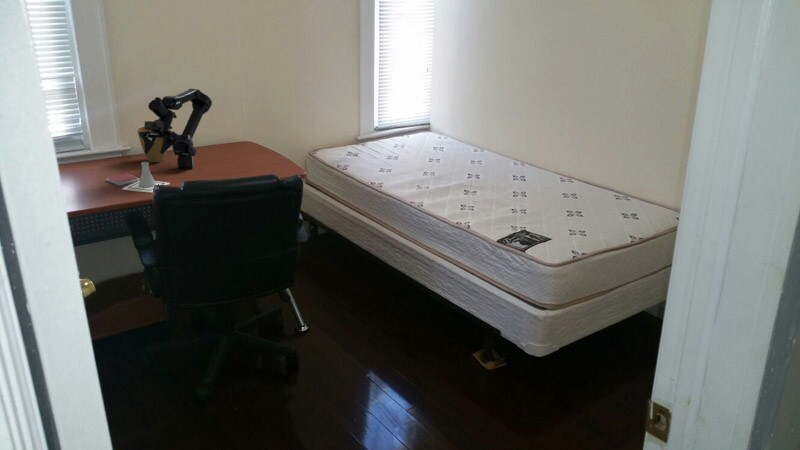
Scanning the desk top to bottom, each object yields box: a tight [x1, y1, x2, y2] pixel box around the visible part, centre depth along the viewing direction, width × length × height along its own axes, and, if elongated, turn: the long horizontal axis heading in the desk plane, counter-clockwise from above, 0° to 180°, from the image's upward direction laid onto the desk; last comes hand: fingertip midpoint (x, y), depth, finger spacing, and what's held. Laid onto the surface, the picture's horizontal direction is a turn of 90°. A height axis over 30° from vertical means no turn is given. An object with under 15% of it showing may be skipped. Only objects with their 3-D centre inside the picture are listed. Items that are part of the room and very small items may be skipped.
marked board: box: [121, 180, 171, 194], centre depth 276 cm, size 14×14×1 cm
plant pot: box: [136, 126, 171, 163], centre depth 313 cm, size 15×15×16 cm
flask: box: [139, 161, 156, 187], centre depth 275 cm, size 7×7×10 cm
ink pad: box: [105, 173, 140, 186], centre depth 282 cm, size 10×10×2 cm
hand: (153, 153), depth 280 cm, fingers open, 9 cm apart
